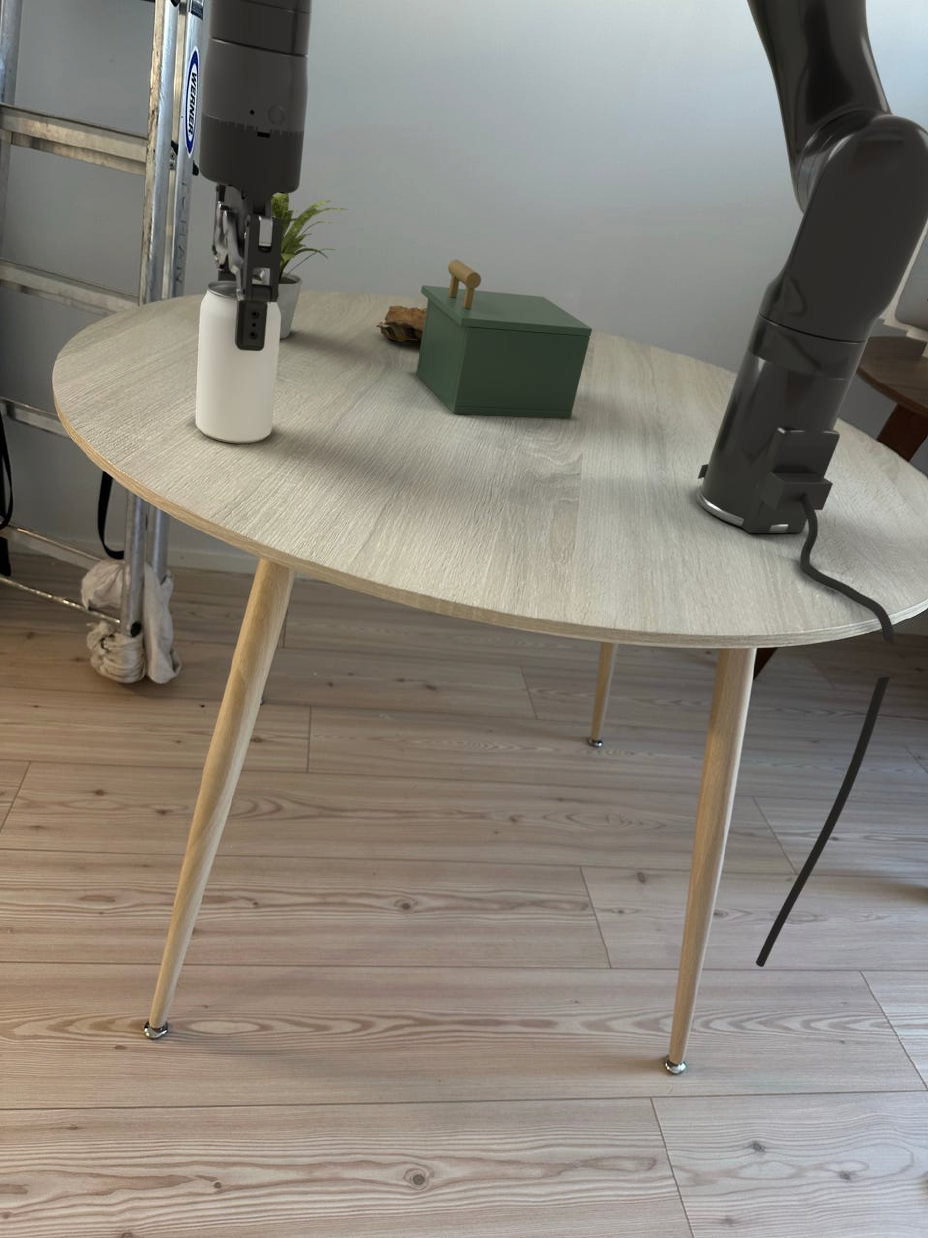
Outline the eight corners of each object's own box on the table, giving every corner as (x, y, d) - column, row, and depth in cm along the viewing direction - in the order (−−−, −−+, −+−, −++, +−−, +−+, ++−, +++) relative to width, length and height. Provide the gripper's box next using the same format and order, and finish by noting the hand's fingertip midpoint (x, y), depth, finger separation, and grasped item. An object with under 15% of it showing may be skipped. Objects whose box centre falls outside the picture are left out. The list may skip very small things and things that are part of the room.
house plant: (356, 356, 110) (375, 201, 102) (235, 354, 103) (246, 188, 95) (307, 317, 120) (322, 174, 112) (195, 313, 113) (201, 159, 105)
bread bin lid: (460, 326, 95) (469, 279, 93) (420, 292, 104) (427, 249, 102) (590, 336, 101) (601, 292, 99) (542, 303, 110) (550, 263, 107)
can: (279, 425, 88) (291, 290, 82) (259, 450, 83) (271, 306, 77) (208, 411, 88) (215, 274, 82) (184, 435, 83) (189, 290, 77)
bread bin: (453, 413, 100) (469, 327, 95) (415, 374, 109) (428, 293, 104) (570, 418, 105) (590, 336, 101) (525, 380, 114) (542, 304, 110)
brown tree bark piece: (407, 363, 113) (507, 364, 122) (414, 328, 111) (516, 332, 120) (357, 326, 120) (456, 330, 129) (364, 292, 118) (463, 299, 127)
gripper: (187, 94, 77) (179, 303, 85) (219, 121, 66) (206, 358, 74) (282, 110, 80) (265, 310, 88) (327, 138, 69) (304, 364, 77)
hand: (238, 332), depth 81 cm, fingers open, 8 cm apart
